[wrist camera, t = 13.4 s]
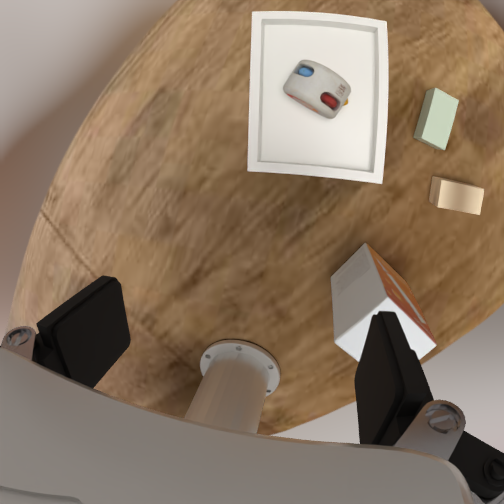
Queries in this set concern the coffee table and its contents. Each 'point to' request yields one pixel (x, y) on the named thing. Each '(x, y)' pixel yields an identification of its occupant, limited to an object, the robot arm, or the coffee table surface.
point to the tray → (302, 118)
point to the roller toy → (317, 88)
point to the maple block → (456, 195)
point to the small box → (374, 303)
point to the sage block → (436, 119)
